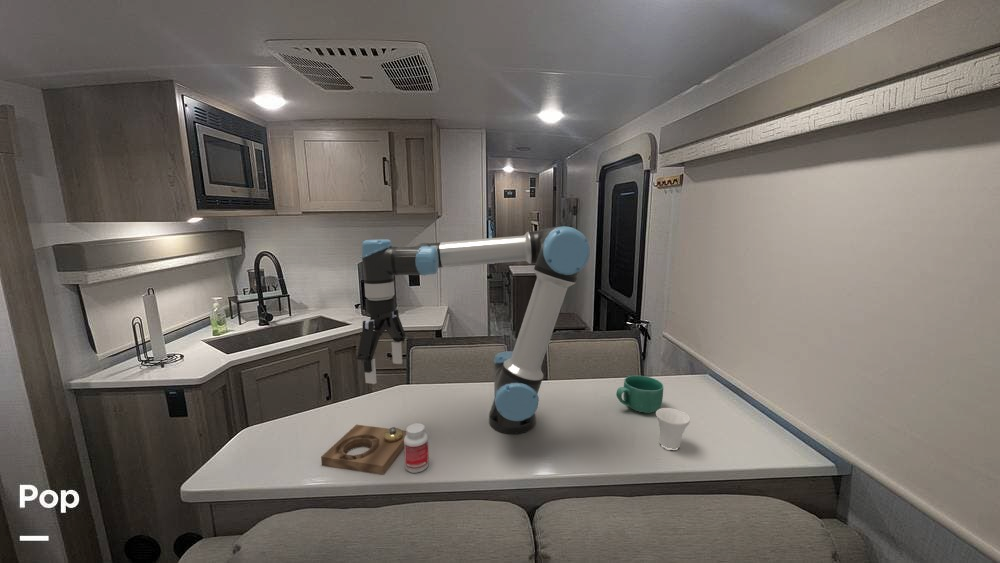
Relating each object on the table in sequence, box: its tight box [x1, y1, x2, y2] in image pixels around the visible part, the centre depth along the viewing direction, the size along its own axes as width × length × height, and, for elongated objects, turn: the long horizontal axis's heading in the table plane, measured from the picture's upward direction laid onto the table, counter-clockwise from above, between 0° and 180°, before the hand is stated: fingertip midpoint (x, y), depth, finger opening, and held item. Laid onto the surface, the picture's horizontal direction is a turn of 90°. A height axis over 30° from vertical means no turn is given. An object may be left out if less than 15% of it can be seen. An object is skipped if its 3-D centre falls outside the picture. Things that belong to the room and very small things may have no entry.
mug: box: [615, 375, 664, 414], centre depth 127 cm, size 17×13×10 cm
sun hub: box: [384, 426, 402, 443], centre depth 106 cm, size 5×5×3 cm
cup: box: [655, 407, 691, 449], centre depth 105 cm, size 9×9×10 cm
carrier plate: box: [320, 424, 407, 475], centre depth 104 cm, size 18×16×2 cm
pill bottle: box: [403, 422, 430, 474], centre depth 97 cm, size 6×6×11 cm
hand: (385, 372), depth 102 cm, fingers open, 13 cm apart
